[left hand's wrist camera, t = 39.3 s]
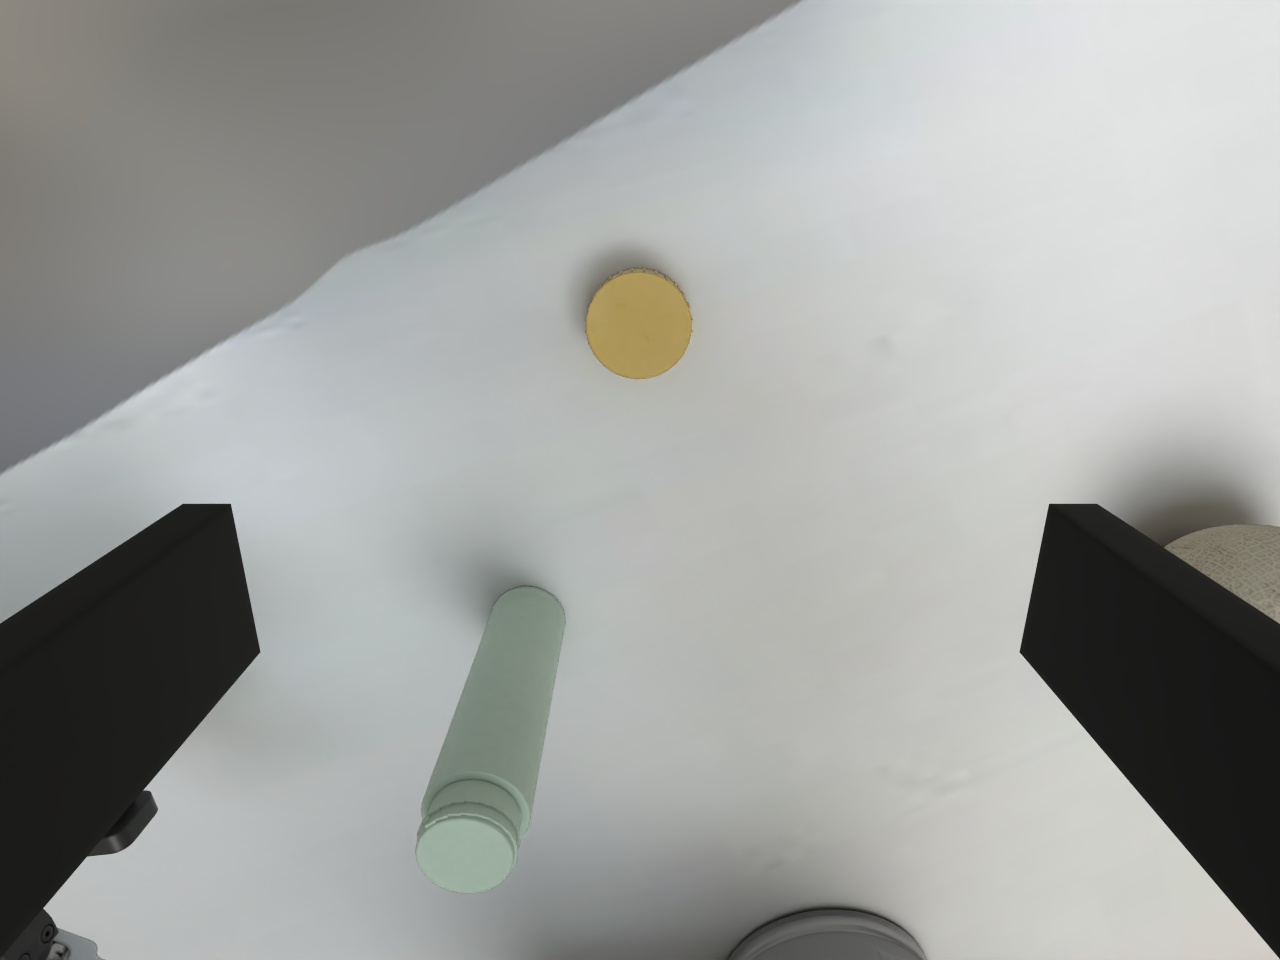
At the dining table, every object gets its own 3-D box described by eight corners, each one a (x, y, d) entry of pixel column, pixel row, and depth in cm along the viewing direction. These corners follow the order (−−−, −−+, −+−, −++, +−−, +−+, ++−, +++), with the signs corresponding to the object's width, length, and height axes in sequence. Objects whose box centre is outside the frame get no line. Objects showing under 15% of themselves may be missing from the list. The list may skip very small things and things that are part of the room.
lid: (575, 280, 38) (572, 285, 36) (677, 255, 38) (680, 259, 35) (601, 380, 40) (599, 391, 38) (699, 358, 39) (702, 366, 37)
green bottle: (580, 624, 45) (546, 865, 28) (524, 663, 46) (461, 918, 29) (532, 572, 44) (467, 792, 27) (476, 613, 45) (381, 850, 28)
